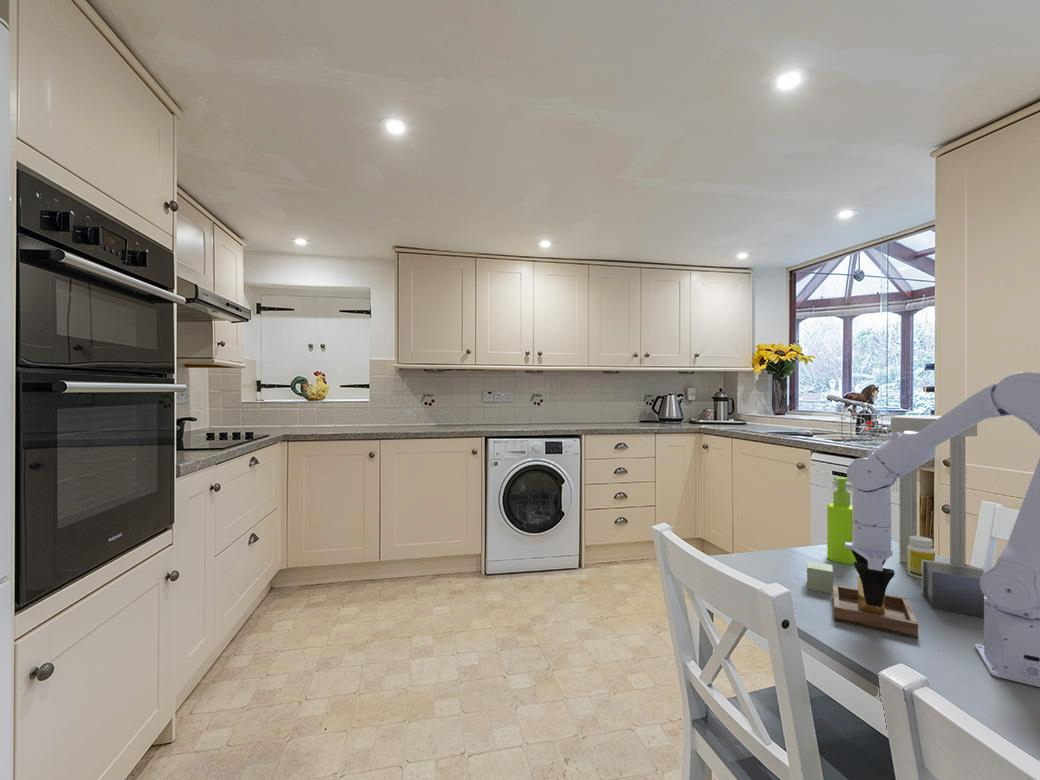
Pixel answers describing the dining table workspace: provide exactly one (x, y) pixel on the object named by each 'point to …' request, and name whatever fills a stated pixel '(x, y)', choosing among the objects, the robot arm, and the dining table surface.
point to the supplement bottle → (918, 554)
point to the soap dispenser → (840, 525)
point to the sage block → (820, 577)
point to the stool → (956, 489)
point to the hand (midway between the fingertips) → (871, 597)
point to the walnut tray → (894, 621)
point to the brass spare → (863, 606)
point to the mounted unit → (953, 587)
